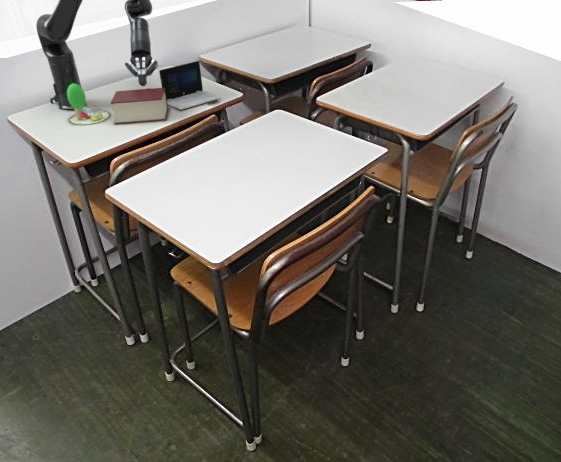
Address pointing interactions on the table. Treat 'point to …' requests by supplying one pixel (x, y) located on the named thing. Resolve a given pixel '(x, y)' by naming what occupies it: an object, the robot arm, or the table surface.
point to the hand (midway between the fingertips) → (142, 85)
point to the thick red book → (140, 105)
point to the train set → (83, 107)
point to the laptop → (184, 86)
